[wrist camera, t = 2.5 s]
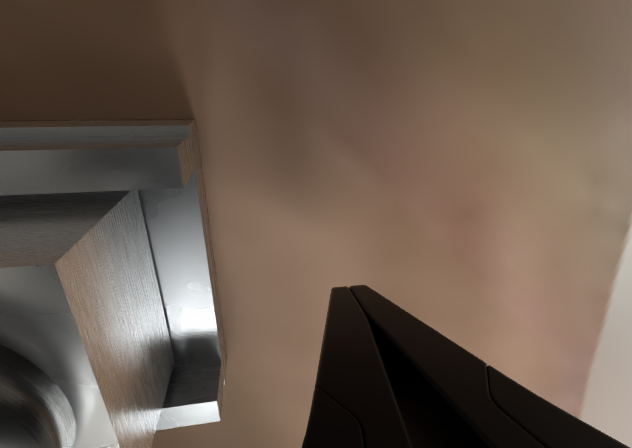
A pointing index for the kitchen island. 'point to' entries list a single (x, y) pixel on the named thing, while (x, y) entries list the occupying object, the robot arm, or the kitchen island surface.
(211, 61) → the kitchen island surface
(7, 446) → the carriage
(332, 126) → the kitchen island surface
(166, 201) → the rail
